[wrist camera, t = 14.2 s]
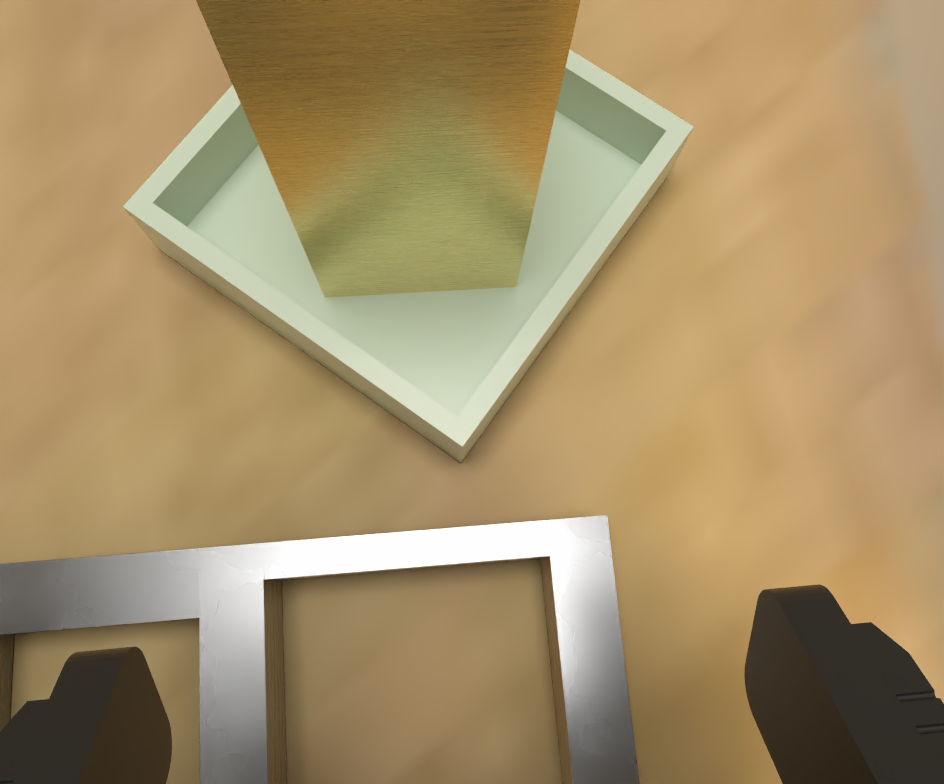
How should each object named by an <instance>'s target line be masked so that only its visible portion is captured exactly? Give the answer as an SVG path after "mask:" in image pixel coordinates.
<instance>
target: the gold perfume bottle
mask: <svg viewBox="0 0 944 784" xmlns="http://www.w3.org/2000/svg"><path fill="white" fill-rule="evenodd" d="M196 1H197V3H198V6H199V8H200V10H201V13H202V15H203V17H204V19H205V22H206V24H207V26H208V29H209V31H210V33H211V36H212V38H213V40H214V43H215V45H216V47H217V49H218V52H219V54H220V56H221V59H222V61H223V63H224V66H225V68H226V70H227V73H228V75H229V77H230V80H231V82H232V84H233V86H234V89H235V91H236V93H237V96H238V98H239V100H240V103H241V105H242V107H243V110H244V112H245V114H246V117H247V119H248V121H249V123H250V126H251V128H252V130H253V133H254V135H255V137H256V140H257V142H258V144H259V147H260V149H261V151H262V153H263V156H264V158H265V160H266V163H267V165H268V167H269V170H270V172H271V174H272V177H273V179H274V181H275V184H276V186H277V188H278V190H279V193H280V195H281V197H282V200H283V202H284V204H285V207H286V209H287V211H288V214H289V216H290V218H291V220H292V223H293V225H294V227H295V230H296V232H297V234H298V237H299V239H300V241H301V244H302V246H303V248H304V251H305V253H306V255H307V257H308V260H309V262H310V264H311V267H312V269H313V271H314V274H315V276H316V278H317V281H318V283H319V285H320V287H321V290H322V292H323V294H324V297H325V298H327V297H345V296H363V295H380V294H398V293H416V292H433V291H451V290H469V289H487V288H504V287H517V282H518V278H519V273H520V269H521V264H522V260H523V255H524V251H525V246H526V242H527V237H528V233H529V229H530V224H531V220H532V215H533V211H534V206H535V202H536V197H537V193H538V188H539V184H540V179H541V175H542V170H543V166H544V161H545V157H546V152H547V148H548V143H549V139H550V134H551V130H552V125H553V121H554V116H555V112H556V107H557V103H558V98H559V94H560V90H561V85H562V81H563V76H564V72H565V67H566V63H567V58H568V54H569V49H570V45H571V40H572V36H573V31H574V27H575V22H576V18H577V13H578V9H579V4H580V0H196Z"/></svg>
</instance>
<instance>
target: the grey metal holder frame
mask: <svg viewBox="0 0 944 784" xmlns="http://www.w3.org/2000/svg"><path fill="white" fill-rule="evenodd" d="M532 559H540V562H541V572H542V582H543V592H544V602H545V612H546V623H547V633H548V643H549V653H550V663H551V673H552V683H553V693H554V703H555V713H556V723H557V733H558V743H559V753H560V763H561V773H562V784H639V777H638V769H637V761H636V752H635V744H634V736H633V727H632V719H631V711H630V702H629V694H628V686H627V677H626V669H625V661H624V652H623V644H622V636H621V627H620V619H619V611H618V602H617V594H616V586H615V577H614V569H613V560H612V552H611V544H610V535H609V527H608V519H607V515H604V516H591V517H579V518H567V519H554V520H542V521H530V522H517V523H505V524H492V525H480V526H468V527H455V528H443V529H430V530H418V531H406V532H393V533H381V534H369V535H356V536H344V537H331V538H319V539H307V540H294V541H282V542H270V543H257V544H245V545H232V546H220V547H208V548H195V549H183V550H171V551H158V552H146V553H133V554H121V555H109V556H96V557H84V558H71V559H59V560H47V561H34V562H22V563H10V564H0V731H1V730H2V729H3V728H4V727H5V726H6V725H7V724H8V722H9V721H10V705H11V684H12V664H13V643H14V633H25V632H37V631H49V630H60V629H72V628H84V627H96V626H108V625H120V624H131V623H143V622H155V621H167V620H179V619H190V618H200V784H287V766H286V728H285V689H284V651H283V612H282V580H291V579H303V578H315V577H327V576H339V575H351V574H363V573H375V572H388V571H400V570H412V569H424V568H436V567H448V566H460V565H472V564H484V563H496V562H508V561H520V560H532Z"/></svg>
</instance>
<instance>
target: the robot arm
mask: <svg viewBox="0 0 944 784" xmlns="http://www.w3.org/2000/svg"><path fill="white" fill-rule="evenodd" d="M745 686H746V692H747V697H748V701H749V705H750V708H751V711H752V714H753V717H754V719H755V721H756V724H757V726H758V728H759V730H760V733H761V735H762V737H763V740H764V742H765V744H766V746H767V749H768V751H769V753H770V756H771V758H772V760H773V762H774V765H775V767H776V769H777V771H778V774H779V776H780V778H781V781H782V783H783V784H944V704H943V702H942V701H941V699H940V698H936V697H935V694H934V689H933V688H932V686H931V685H930V683H929V682H928V680H927V679H926V677H925V676H924V675H923V673H922V672H921V670H920V669H919V667H918V666H917V664H916V663H915V661H914V660H913V658H912V657H911V656H910V654H909V653H908V652H907V651H906V650H904V649H903V648H902V647H901V646H900V645H898V644H897V643H896V642H895V641H893V640H892V639H891V638H890V637H888V636H887V635H886V634H885V633H884V632H882V631H881V630H880V629H879V628H877V627H876V626H875V625H874V624H872V623H871V622H870V623H859V624H851V623H850V622H849V620H848V619H847V617H846V616H845V614H844V612H843V611H842V609H841V608H840V606H839V604H838V603H837V601H836V600H835V598H834V597H833V595H832V594H831V592H830V591H829V590H828V589H827V588H826V587H824V586H822V585H809V586H798V587H788V588H777V589H767V590H763V591H762V592H761V593H760V595H759V597H758V601H757V606H756V611H755V616H754V621H753V627H752V632H751V637H750V642H749V647H748V653H747V658H746V663H745ZM171 751H172V738H171V728H170V723H169V720H168V717H167V714H166V712H165V709H164V706H163V704H162V701H161V699H160V696H159V693H158V691H157V688H156V686H155V683H154V680H153V678H152V675H151V672H150V670H149V667H148V665H147V662H146V659H145V657H144V655H143V653H142V651H141V650H140V649H139V648H138V647H127V648H116V649H106V650H95V651H84V652H76V653H74V654H72V655H71V656H70V657H69V658H68V660H67V661H66V663H65V665H64V667H63V669H62V671H61V673H60V676H59V678H58V680H57V683H56V685H55V687H54V689H53V692H52V694H51V696H50V699H46V700H36V701H27V702H26V704H25V705H24V706H23V707H22V708H21V709H20V710H19V711H18V712H17V714H16V715H15V716H14V717H13V718H12V719H11V720H10V721H9V722H8V724H7V725H6V726H5V727H4V728H3V729H2V730H1V731H0V784H166V781H167V777H168V773H169V768H170V762H171Z"/></svg>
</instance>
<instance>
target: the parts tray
mask: <svg viewBox="0 0 944 784" xmlns="http://www.w3.org/2000/svg"><path fill="white" fill-rule="evenodd" d="M692 129H693V126H691V125H690V124H688V123H687V122H685V121H683V120H682V119H680V118H679V117H677V116H675V115H674V114H672V113H671V112H669V111H667V110H666V109H664V108H663V107H661V106H659V105H658V104H656V103H655V102H653V101H651V100H650V99H648V98H647V97H645V96H643V95H642V94H640V93H639V92H637V91H635V90H634V89H632V88H631V87H629V86H627V85H626V84H624V83H623V82H621V81H619V80H618V79H616V78H615V77H613V76H611V75H610V74H608V73H607V72H605V71H603V70H602V69H600V68H599V67H597V66H595V65H594V64H592V63H591V62H589V61H587V60H586V59H584V58H583V57H581V56H579V55H578V54H576V53H575V52H573V51H571V50H570V49H569V54H568V58H567V63H566V67H565V72H564V76H563V81H562V85H561V90H560V94H559V98H558V103H557V107H556V112H555V116H554V121H553V125H552V130H551V134H550V139H549V143H548V148H547V152H546V157H545V161H544V166H543V170H542V175H541V179H540V184H539V188H538V193H537V197H536V202H535V206H534V211H533V215H532V220H531V224H530V229H529V233H528V237H527V242H526V246H525V251H524V255H523V260H522V264H521V269H520V273H519V278H518V282H517V287H504V288H487V289H469V290H451V291H433V292H416V293H398V294H380V295H363V296H345V297H327V298H325V297H324V294H323V292H322V290H321V287H320V285H319V283H318V281H317V278H316V276H315V274H314V271H313V269H312V267H311V264H310V262H309V260H308V257H307V255H306V253H305V251H304V248H303V246H302V244H301V241H300V239H299V237H298V234H297V232H296V230H295V227H294V225H293V223H292V220H291V218H290V216H289V214H288V211H287V209H286V207H285V204H284V202H283V200H282V197H281V195H280V193H279V190H278V188H277V186H276V184H275V181H274V179H273V177H272V174H271V172H270V170H269V167H268V165H267V163H266V160H265V158H264V156H263V153H262V151H261V149H260V147H259V144H258V142H257V140H256V137H255V135H254V133H253V130H252V128H251V126H250V123H249V121H248V119H247V117H246V114H245V112H244V110H243V107H242V105H241V103H240V100H239V98H238V96H237V93H236V91H235V89H234V86H233V85H232V86H231V87H230V88H229V89H228V91H227V92H226V93H225V94H224V95H223V96H222V97H221V98H220V99H219V101H218V102H217V103H216V104H215V105H214V106H213V107H212V108H211V109H210V111H209V112H208V113H207V114H206V115H205V116H204V117H203V118H202V119H201V121H200V122H199V123H198V124H197V125H196V126H195V127H194V128H193V129H192V131H191V132H190V133H189V134H188V135H187V136H186V137H185V138H184V139H183V141H182V142H181V143H180V144H179V145H178V146H177V147H176V148H175V149H174V151H173V152H172V153H171V154H170V155H169V156H168V157H167V158H166V159H165V161H164V162H163V163H162V164H161V165H160V166H159V167H158V168H157V169H156V171H155V172H154V173H153V174H152V175H151V176H150V177H149V178H148V179H147V181H146V182H145V183H144V184H143V185H142V186H141V187H140V188H139V189H138V191H137V192H136V193H135V194H134V195H133V196H132V197H131V198H130V199H129V201H128V202H127V203H126V204H125V205H124V206H123V208H124V209H125V210H126V211H127V212H128V213H129V215H130V216H131V217H132V218H133V219H134V220H135V222H136V223H137V224H138V225H139V226H140V227H141V229H142V230H143V231H144V232H145V233H146V234H147V236H148V237H149V238H150V239H151V240H152V241H153V242H154V244H155V245H156V246H157V247H158V248H159V249H160V250H161V251H162V252H164V253H165V254H167V255H168V256H169V257H171V258H172V259H174V260H175V261H177V262H178V263H179V264H181V265H182V266H184V267H185V268H186V269H188V270H189V271H191V272H192V273H193V274H195V275H196V276H198V277H199V278H201V279H202V280H203V281H205V282H206V283H208V284H209V285H210V286H212V287H213V288H215V289H216V290H217V291H219V292H220V293H222V294H223V295H224V296H226V297H227V298H229V299H230V300H232V301H233V302H234V303H236V304H237V305H239V306H240V307H241V308H243V309H244V310H246V311H247V312H248V313H250V314H251V315H253V316H254V317H256V318H257V319H258V320H260V321H261V322H263V323H264V324H265V325H267V326H268V327H270V328H271V329H272V330H274V331H275V332H277V333H278V334H279V335H281V336H282V337H284V338H285V339H287V340H288V341H289V342H291V343H292V344H294V345H295V346H296V347H298V348H299V349H301V350H302V351H303V352H305V353H306V354H308V355H309V356H310V357H312V358H313V359H315V360H316V361H318V362H319V363H320V364H322V365H323V366H325V367H326V368H327V369H329V370H330V371H332V372H333V373H334V374H336V375H337V376H339V377H340V378H342V379H343V380H344V381H346V382H347V383H349V384H350V385H351V386H353V387H354V388H356V389H357V390H358V391H360V392H361V393H363V394H364V395H365V396H367V397H368V398H370V399H371V400H373V401H374V402H375V403H377V404H378V405H380V406H381V407H382V408H384V409H385V410H387V411H388V412H389V413H391V414H392V415H394V416H395V417H396V418H398V419H399V420H401V421H402V422H404V423H405V424H406V425H408V426H409V427H411V428H412V429H413V430H415V431H416V432H418V433H419V434H420V435H422V436H423V437H425V438H426V439H428V440H429V441H430V442H432V443H433V444H435V445H436V446H437V447H439V448H440V449H442V450H443V451H444V452H446V453H447V454H449V455H450V456H451V457H453V458H454V459H456V460H457V461H459V462H460V463H462V461H463V460H464V458H465V457H466V456H467V454H468V453H469V452H470V450H471V449H472V447H473V446H474V445H475V443H476V442H477V440H478V439H479V438H480V436H481V435H482V433H483V432H484V431H485V429H486V428H487V426H488V425H489V424H490V422H491V421H492V420H493V418H494V417H495V415H496V414H497V413H498V411H499V410H500V408H501V407H502V406H503V404H504V403H505V401H506V400H507V399H508V397H509V396H510V394H511V393H512V392H513V390H514V389H515V388H516V386H517V385H518V383H519V382H520V381H521V379H522V378H523V376H524V375H525V374H526V372H527V371H528V369H529V368H530V367H531V365H532V364H533V362H534V361H535V360H536V358H537V357H538V356H539V354H540V353H541V351H542V350H543V349H544V347H545V346H546V344H547V343H548V342H549V340H550V339H551V337H552V336H553V335H554V333H555V332H556V331H557V329H558V328H559V326H560V325H561V324H562V322H563V321H564V319H565V318H566V317H567V315H568V314H569V312H570V311H571V310H572V308H573V307H574V305H575V304H576V303H577V301H578V300H579V299H580V297H581V296H582V294H583V293H584V292H585V290H586V289H587V287H588V286H589V285H590V283H591V282H592V280H593V279H594V278H595V276H596V275H597V273H598V272H599V271H600V269H601V268H602V267H603V265H604V264H605V262H606V261H607V260H608V258H609V257H610V255H611V254H612V253H613V251H614V250H615V248H616V247H617V246H618V244H619V243H620V242H621V240H622V239H623V237H624V236H625V235H626V233H627V232H628V230H629V229H630V228H631V226H632V225H633V223H634V222H635V221H636V219H637V218H638V216H639V215H640V214H641V212H642V211H643V210H644V208H645V207H646V205H647V204H648V203H649V201H650V200H651V198H652V197H653V196H654V194H655V193H656V191H657V190H658V189H659V187H660V186H661V184H662V183H663V182H664V180H665V179H666V178H667V176H668V174H669V172H670V170H671V169H672V167H673V165H674V163H675V161H676V159H677V157H678V155H679V154H680V152H681V150H682V148H683V146H684V144H685V142H686V140H687V138H688V137H689V135H690V133H691V131H692Z"/></svg>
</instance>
